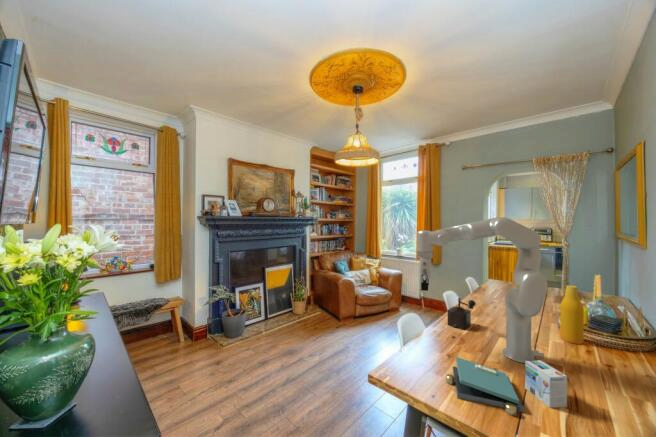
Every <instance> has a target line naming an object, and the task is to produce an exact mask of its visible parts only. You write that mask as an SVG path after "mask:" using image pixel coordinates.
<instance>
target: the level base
mask: <svg viewBox="0 0 656 437" xmlns="http://www.w3.org/2000/svg"><path fill="white" fill-rule="evenodd" d="M493 369H494V368H493ZM494 370H497V369H494ZM497 371H499V370H497ZM507 377H508V379H509V381H510V383H511V385H512V387H513V389H514V391H515V393H516V395H517V397H518V399H519V404H517V403H514V402H511V401H509V400H506V399H503V398H500V397H498V396H495V395H492V394H489V393H486V392H484V391H481V390H478V389H475V388H473V387H470V386H467V385H464V384H461V383H460V379H459V374H458V369H457V366H452V374H450V373H449V374H448V373H447V374H446V377H445V378H446V379H445V383H446V384H448V385H450V386H454V387H455V392H456V398H457V399H459V400H465V401H469V402H474V403H478V404H483V405H486V406H490V407H491V406H492V407H495V408H496V407H497V408H501V409H505V410H504V411H505V413H506V414H507V415H508V416H511V417H516V416H517V412H519V413H524V405H523V403H522V401H521V399H520V398H519V395H518V393H517V391H516V389H515V388H514V385H513V384H512V382H511V380H510V377H509V376H508V375H507Z"/></svg>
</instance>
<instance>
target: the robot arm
mask: <svg viewBox="0 0 656 437" xmlns="http://www.w3.org/2000/svg"><path fill="white" fill-rule="evenodd" d="M416 234H417V236H416V238H417V240H416V241H417V242H416V245H417V248H416V250H417V252H416V253H417V254H416V255H417V256H416V257H417V258H419V275H420V278H421V282H420V287H421V291H423V292H424V291H427V292H428V291H429V285H430V282H429V280H430V279H431V278H432V259H433V258H434V252H433V251H434V246H440V247H441V246H443V247H444V246H446V245H448V244H449V243H452V242H457V241H477V240H480V239H481V240H482V239H485V238H491V237H497V236H501V237H503V238H505V239H506V240H508V241H510V242H511V244H512V245H514V246H515V247H516V251H517V253H518V256H517V261H516V264H515V265H516V266H515V268H514V273H513V275H512V276H513V277H512V280H513V282H514V283H515V284H516V286H518V287H519V288H511V289H509V290H507V292H506V293H505V296H504V304H505V311H506V321H505V322H506V326H505V327H506V333H505V334H506V335H505V338H506V341H505V342H506V344H505V345H506V346H505V348H503V349H502V350H501V352H502V355H503V356H504V357H506V358H507V359H509V360H512V361H514V362H517V363H522V364H526V361H537V360H536V357H537V358H543V359H544V358H545V354H544V353H543V352H540V351H538V350H535V349H532V318H533V317H536V316H537V315H538V314H540V313H541V310H542V308H543V304H544V301H545V298H546V294H547V290H548V280H547V277H546V276H545V275H544V274H542V273H541V272H540V267H541V262H542V251H541V249H540V247H539V246H540V245H541V243H542V238H541V236H540V234H539V233H538V232H537V231H536V230H533V229H531V228H529V227H527V226H525V225H523V224H521V223H519V222H517V221H514V220H513V219H511V218H508V217H497V216H496V217H491V218H487V219H483V220H479V221H473V222H469V223H464V224H460V225H456V226H455V225H454V226H450V227H446V228H441V229H436V230H433V231H431V230H419V231H417V233H416Z"/></svg>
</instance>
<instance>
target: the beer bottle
mask: <svg viewBox="0 0 656 437" xmlns="http://www.w3.org/2000/svg"><path fill="white" fill-rule="evenodd" d="M561 300H562V301H561V302H560V307H559V308H560V316H559V318H560V319H559V320H560V321H559V322H560V326H559V327H560V328H559V329H560V332H559V337H560V339H561V340H563V341H565V342H567V343H569V344H575V345H583V344H584V342H585V341H584V336H585V334H584V332H585V331H584V321H585V320H584V316H585V314H584V313H585V312H584V310H585V309H584V305H583V304H582V302H581V300H580V296H579V291H578V286H576V285H570V284H569V285H568V284H567V285H566V287H565V294H564V297H563V298H562V299H561Z"/></svg>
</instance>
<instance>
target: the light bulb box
mask: <svg viewBox="0 0 656 437" xmlns="http://www.w3.org/2000/svg"><path fill="white" fill-rule="evenodd" d="M524 364H525V367H524V368H525V371H524V372H525V373H524V374H525V375H524V377H525V378H524V381H525V382H524V383H525V384H524V387H525V390H526V391H527V392H529V393H530V394H531V395H533V396H534V397H535V398H537V399H538V400H539V401H540V400H541V401H540V402H541V403H543V404H544V405H545V404H546V405H545V406H547V407H548V408H567V407H568V375H566V374H564V373H563V372H561V371H559V370H558V369H555V368H554V367H553V366H551V365H550V364H548V363H546V362H544V361H543V360H535V361H526V363H524Z"/></svg>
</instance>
